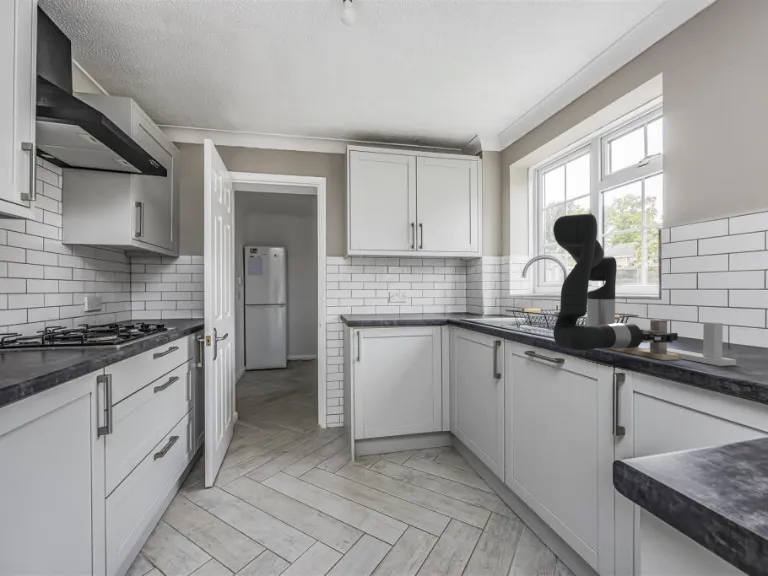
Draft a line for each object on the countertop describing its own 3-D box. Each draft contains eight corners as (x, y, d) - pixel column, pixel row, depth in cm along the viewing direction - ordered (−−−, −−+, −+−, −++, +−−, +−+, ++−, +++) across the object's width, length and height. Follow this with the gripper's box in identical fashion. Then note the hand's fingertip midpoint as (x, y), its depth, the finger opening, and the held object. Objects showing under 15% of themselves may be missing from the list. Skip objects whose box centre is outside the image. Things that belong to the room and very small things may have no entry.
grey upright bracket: (648, 352, 128) (648, 317, 128) (663, 351, 130) (663, 317, 130) (719, 365, 107) (719, 324, 107) (736, 365, 108) (736, 323, 108)
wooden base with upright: (604, 348, 136) (605, 315, 136) (618, 347, 138) (619, 315, 138) (662, 360, 115) (662, 321, 115) (678, 359, 116) (679, 321, 116)
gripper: (640, 325, 109) (686, 324, 113) (601, 321, 123) (643, 320, 127) (639, 352, 109) (685, 350, 113) (601, 344, 123) (643, 343, 127)
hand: (663, 334), depth 120 cm, fingers open, 8 cm apart
